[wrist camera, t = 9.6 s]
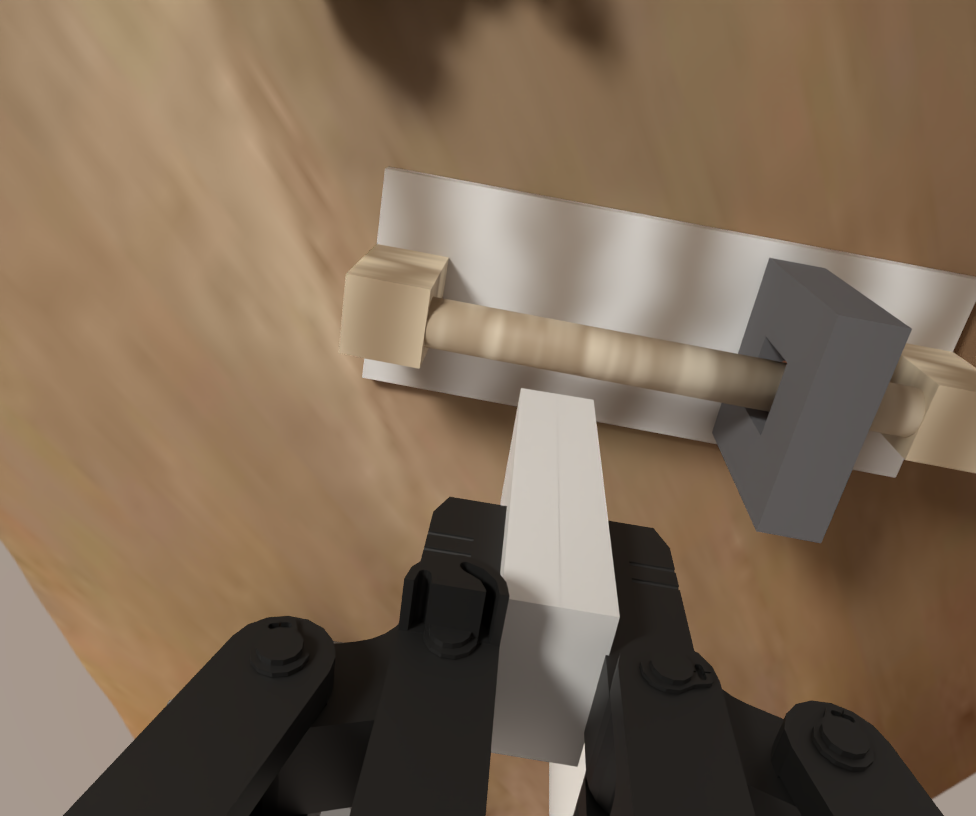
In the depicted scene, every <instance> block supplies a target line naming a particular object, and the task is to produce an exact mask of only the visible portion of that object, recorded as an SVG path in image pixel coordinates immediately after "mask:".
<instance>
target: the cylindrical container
mask: <svg viewBox="0 0 976 816" xmlns="http://www.w3.org/2000/svg"><path fill="white" fill-rule="evenodd" d="M585 772H586V763H585V742H584V746H583V750H582V753H581V757H580V760H579V764H578V767H575V766H569V765H563V764H557V763H551V762H549V816H573V814H574V810H575V807H576V803H577V800H578V797H579V793H580V790H581V786H582V783H583V779H584V776H585Z"/></svg>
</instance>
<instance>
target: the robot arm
mask: <svg viewBox="0 0 976 816" xmlns="http://www.w3.org/2000/svg"><path fill="white" fill-rule="evenodd" d="M674 570H675V568H674V564H673V560H672V556H671V551H670V548H669V547H668V545H667V544H666V543H665V542H664V541H663V539H662V538H661V537H660V536H659V534H658V533H657V532H656V531H655V530H654V528H649V527H643V526H637V525H631V524H625V523H618V522H612V521H608V516H607V507H606V499H605V491H604V482H603V474H602V466H601V457H600V449H599V441H598V433H597V424H596V416H595V408H594V400H592V399H586V398H579V397H573V396H567V395H561V394H555V393H549V392H543V391H536V390H530V389H524V388H521V391H520V396H519V402H518V408H517V413H516V419H515V424H514V430H513V436H512V441H511V447H510V452H509V458H508V464H507V469H506V475H505V481H504V486H503V492H502V497H501V505H496V504H490V503H484V502H478V501H472V500H466V499H460V498H454V497H449V498H448V499H447V500H446V501H445V502H444V503H442V504H441V505H440V506H439V507H438V508H437V509H436V510H435V511H434V512H433V515H432V519H431V523H430V527H429V531H428V535H427V539H426V543H425V546H424V550H423V554H422V558H421V561H420V562H419V563H417V564H415V565H414V566H412V567H411V569H410V570H409V572H408V574H407V575H406V577H405V578H404V586H403V594H402V603H401V611H400V620H399V624H398V625H397V626H396V627H395V628H393V629H392V630H390V631H389V632H387V633H385V634H383V635H381V636H378V637H375V638H373V639H369V640H363V641H357V642H347V643H336V644H334V641H333V640H332V639H331V637H330V636H329V635H328V633H327V632H326V631H325V630H324V628H322V627H320V626H318V625H316V624H315V623H313V622H311V621H309V620H307V619H301V618H296V617H291V616H282V617H269V618H265V619H262V620H259V621H257V622H254V623H251V624H248V625H247V626H245V627H244V628H243V629H241V630H240V631H239V632H237V633H236V634H235V635H233V636H232V637H231V638H230V639H229V640H228V641H227V642H226V643H225V644H224V645H223V647H222V648H221V649H220V650H219V651H218V652H217V653H216V654H215V655H214V656H213V657H212V658H211V659H210V660H209V661H208V662H207V663H206V665H205V666H204V667H203V668H202V669H201V670H200V671H199V672H198V673H197V674H196V675H195V676H194V677H193V678H192V679H191V680H190V681H189V683H188V684H187V685H186V686H185V687H184V688H183V689H182V690H181V691H180V692H179V693H178V694H177V695H176V696H175V697H174V698H173V699H172V701H171V702H170V703H169V704H168V705H167V706H166V707H165V708H164V709H163V710H162V711H161V712H160V713H159V714H158V715H157V716H156V717H155V719H154V720H153V721H152V722H151V723H150V724H149V725H148V726H147V727H146V728H145V729H144V730H143V731H142V732H141V733H140V734H139V735H138V737H137V738H136V739H135V740H134V741H133V742H132V743H131V744H130V745H129V746H128V747H127V748H126V749H125V750H124V752H122V754H121V755H120V756H119V757H118V758H117V759H116V760H115V761H114V762H113V763H112V764H111V765H110V766H109V767H108V768H107V770H106V771H105V772H104V773H103V774H102V775H101V776H100V777H99V778H98V779H97V780H96V781H95V783H93V784H92V785H91V786H90V787H89V788H88V790H87V791H86V792H85V793H84V794H83V795H82V796H81V797H80V798H79V799H78V800H77V801H76V802H75V803H74V804H73V806H72V807H71V808H70V809H69V810H68V811H67V812H66V813H65V814H64V815H63V816H320V814H321V812H323V811H330V810H336V809H343V808H350V807H352V808H351V812H350V815H349V816H485V815H486V803H487V791H488V779H489V768H490V756H491V753H497V754H503V755H509V756H515V757H521V758H527V759H533V760H539V761H545V762H551V763H557V764H563V765H569V766H575V767H578V764H579V760H580V757H581V753H582V750H583V746H584V742H585V763H586V772H585V776H584V779H583V783H582V786H581V790H580V793H579V797H578V800H577V803H576V807H575V810H574V814H573V816H944V815H943V814H942V813H941V811H940V810H939V809H938V807H937V806H936V805H935V803H934V802H933V801H932V799H931V798H930V797H929V795H928V794H927V793H926V791H925V790H924V789H923V787H922V786H921V785H920V783H919V782H918V781H917V779H916V778H915V776H914V775H913V774H912V772H911V771H910V770H909V768H908V767H907V766H906V764H905V763H904V762H903V760H902V759H901V758H900V756H899V755H898V754H897V752H896V751H895V750H894V748H893V747H892V746H891V744H890V743H889V742H888V741H887V740H886V739H885V738H884V737H883V736H882V734H881V733H880V732H879V731H878V730H877V729H876V728H875V727H874V726H873V725H871V724H870V723H868V722H867V721H865V720H864V719H862V718H861V717H859V716H858V715H856V714H855V713H854V712H852V711H849V710H847V709H844V708H842V707H839V706H837V705H834V704H832V703H825V702H818V701H808V702H803V703H799V704H796V705H795V706H794V707H793V708H792V709H791V710H790V711H789V712H788V713H787V714H786V716H785V718H784V719H782V718H779V717H777V716H775V715H772V714H770V713H767V712H765V711H763V710H760V709H758V708H755V707H753V706H751V705H748V704H746V703H744V702H742V701H740V700H738V699H736V698H734V697H732V696H731V695H730V694H728V693H727V692H725V691H724V690H722V688H721V684H720V681H719V679H718V677H717V675H716V673H715V671H714V669H713V667H712V666H711V665H710V664H709V663H708V662H707V661H706V660H705V659H704V658H703V657H702V656H701V655H700V654H699V653H697V652H695V651H694V648H693V644H692V639H691V635H690V631H689V627H688V623H687V618H686V614H685V610H684V606H683V602H682V598H681V593H680V590H678V587H679V585H678V581H677V577H676V573H674Z"/></svg>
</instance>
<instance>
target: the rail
mask: <svg viewBox="0 0 976 816" xmlns="http://www.w3.org/2000/svg"><path fill="white" fill-rule="evenodd" d="M769 258H774V259H779V260H785V261H790V262H795V263H801V264H806V265H811V266H817V267H822V268H826V269H827V270H829V271H830V272H832V273H833V274H835V275H836V276H837V277H839V278H840V279H842V280H843V281H845V282H846V283H847V284H849V285H850V286H852V287H853V288H855V289H856V290H857V291H859V292H860V293H862V294H863V295H865V296H866V297H867V298H869V299H870V300H872V301H873V302H875V303H876V304H877V305H879V306H880V307H882V308H883V309H885V310H886V311H887V312H889V313H890V314H892V315H893V316H894V317H896V318H897V319H899V320H900V321H902V322H903V323H904V324H906V325H907V326H909V327H910V328H912V331H911V333H910V335H909V338H908V340H907V342H906V345H905V347H904V349H903V352H902V354H901V356H900V359H899V361H898V363H897V366H896V368H895V371H894V373H893V375H892V378H891V380H890V382H889V385H888V387H887V389H886V392H885V394H884V396H883V399H882V401H881V404H880V406H879V408H878V411H877V413H876V415H875V418H874V420H873V422H872V425H871V427H870V429H869V432H868V434H867V436H866V439H865V441H864V444H863V446H862V448H861V451H860V453H859V455H858V458H857V460H856V462H855V465H854V467H853V469H852V470H857V471H862V472H868V473H873V474H878V475H884V476H889V477H894V478H896V476H897V473H898V471H899V469H900V467H901V465H902V462H903V460H904V459H905V460H908V461H913V462H919V463H924V464H929V465H934V466H940V467H945V468H950V469H956V470H961V471H966V472H972V473H976V368H975V367H974V366H972V365H971V364H969V363H968V362H967V361H965V360H964V359H962V358H961V357H959V356H958V355H956V354H955V353H953V350H954V348H955V346H956V344H957V341H958V339H959V337H960V335H961V333H962V330H963V328H964V326H965V324H966V322H967V319H968V317H969V315H970V313H971V311H972V308H973V306H974V304H975V302H976V277H974V276H969V275H964V274H958V273H953V272H948V271H942V270H937V269H932V268H926V267H921V266H916V265H910V264H905V263H900V262H895V261H889V260H884V259H879V258H873V257H868V256H863V255H857V254H852V253H847V252H841V251H836V250H831V249H825V248H820V247H815V246H809V245H804V244H799V243H793V242H788V241H783V240H777V239H772V238H767V237H761V236H756V235H751V234H745V233H740V232H735V231H729V230H724V229H719V228H713V227H708V226H703V225H697V224H692V223H687V222H681V221H676V220H671V219H665V218H660V217H655V216H649V215H644V214H639V213H633V212H628V211H623V210H617V209H612V208H607V207H601V206H596V205H591V204H586V203H580V202H575V201H570V200H564V199H559V198H554V197H548V196H543V195H538V194H532V193H527V192H522V191H516V190H511V189H506V188H500V187H495V186H490V185H484V184H479V183H474V182H468V181H463V180H458V179H452V178H447V177H442V176H436V175H431V174H426V173H420V172H415V171H410V170H404V169H399V168H394V167H387V168H385V174H384V183H383V193H382V202H381V211H380V220H379V229H378V238H377V244H376V245H375V246H374V247H373V248H372V249H371V250H370V251H369V252H368V253H367V254H366V255H365V256H364V257H363V258H362V259H361V260H360V261H359V262H358V263H357V264H355V265H354V266H353V267H352V268H351V269H350V270H349V271H348V272H347V273H346V279H345V290H344V300H343V311H342V322H341V332H340V343H339V354H344V355H349V356H354V357H360V358H364V366H363V376H362V378H367V379H373V380H378V381H383V382H389V383H394V384H399V385H405V386H410V387H415V388H421V389H426V390H431V391H437V392H442V393H447V394H453V395H458V396H463V397H469V398H474V399H479V400H484V401H490V402H495V403H500V404H506V405H511V406H516V407H518V402H519V396H520V391H521V388H524V389H530V390H536V391H543V392H549V393H555V394H561V395H567V396H573V397H579V398H586V399H592V400H594V408H595V416H596V422H602V423H607V424H612V425H618V426H623V427H628V428H633V429H639V430H644V431H649V432H655V433H660V434H665V435H671V436H676V437H681V438H687V439H692V440H697V441H703V442H708V443H713V444H717V443H716V440H715V438H714V436H713V434H712V431H713V428H714V425H715V422H716V419H717V416H718V412H719V409H720V406H721V403H725V404H730V405H736V406H741V407H746V408H752V409H757V410H762V411H768V412H770V409H771V406H772V404H773V401H774V398H775V395H776V392H777V390H778V387H779V384H780V381H781V379H782V376H783V373H784V370H785V367H786V365H787V362H786V361H783V362H779V361H774V360H768V359H763V358H758V357H752V356H747V355H742V354H738V352H739V349H740V346H741V342H742V339H743V336H744V333H745V330H746V327H747V324H748V321H749V318H750V315H751V312H752V309H753V306H754V303H755V300H756V297H757V294H758V291H759V288H760V285H761V282H762V279H763V275H764V272H765V269H766V266H767V263H768V260H769Z"/></svg>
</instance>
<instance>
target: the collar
mask: <svg viewBox="0 0 976 816" xmlns="http://www.w3.org/2000/svg"><path fill="white" fill-rule="evenodd" d="M911 331H912V328H910V327H909V326H907V325H906V324H904V323H903V322H902V321H900V320H899V319H897V318H896V317H894V316H893V315H892V314H890V313H889V312H887V311H886V310H885V309H883V308H882V307H880V306H879V305H877V304H876V303H875V302H873V301H872V300H870V299H869V298H867V297H866V296H865V295H863V294H862V293H860V292H859V291H857V290H856V289H855V288H853V287H852V286H850V285H849V284H847V283H846V282H845V281H843V280H842V279H840V278H839V277H837V276H836V275H835V274H833V273H832V272H830V271H829V270H827V269H826V268H822V267H817V266H811V265H806V264H801V263H795V262H790V261H785V260H779V259H774V258H769V260H768V263H767V266H766V269H765V272H764V275H763V279H762V282H761V285H760V288H759V291H758V294H757V297H756V300H755V303H754V306H753V309H752V312H751V315H750V318H749V321H748V324H747V327H746V330H745V333H744V336H743V339H742V342H741V346H740V349H739V352H738V354H742V355H747V356H752V357H758V358H763V359H768V360H774V361H779V362H783V361H786V362H787V365H786V367H785V370H784V373H783V376H782V379H781V381H780V384H779V387H778V390H777V392H776V395H775V398H774V401H773V404H772V406H771V409H770V412H768V411H762V410H757V409H752V408H746V407H741V406H736V405H730V404H725V403H721V406H720V409H719V412H718V416H717V419H716V422H715V425H714V428H713V431H712V434H713V436H714V438H715V440H716V443H717V445H718V447H719V449H720V452H721V454H722V456H723V458H724V460H725V463H726V465H727V467H728V469H729V471H730V474H731V476H732V478H733V480H734V483H735V485H736V487H737V489H738V491H739V494H740V496H741V498H742V500H743V503H744V505H745V507H746V509H747V511H748V514H749V516H750V518H751V520H752V522H753V525H754V527H755V529H756V531H758V532H764V533H769V534H774V535H780V536H785V537H790V538H796V539H801V540H806V541H811V542H817V543H821V542H822V540H823V538H824V535H825V533H826V531H827V528H828V526H829V524H830V521H831V519H832V517H833V514H834V512H835V509H836V507H837V505H838V502H839V500H840V498H841V495H842V493H843V491H844V488H845V486H846V484H847V481H848V479H849V477H850V474H851V472H852V469H853V467H854V465H855V462H856V460H857V458H858V455H859V453H860V451H861V448H862V446H863V444H864V441H865V439H866V436H867V434H868V432H869V429H870V427H871V425H872V422H873V420H874V418H875V415H876V413H877V411H878V408H879V406H880V404H881V401H882V399H883V396H884V394H885V392H886V389H887V387H888V385H889V382H890V380H891V378H892V375H893V373H894V371H895V368H896V366H897V363H898V361H899V359H900V356H901V354H902V352H903V349H904V347H905V345H906V342H907V340H908V338H909V335H910V333H911Z"/></svg>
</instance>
